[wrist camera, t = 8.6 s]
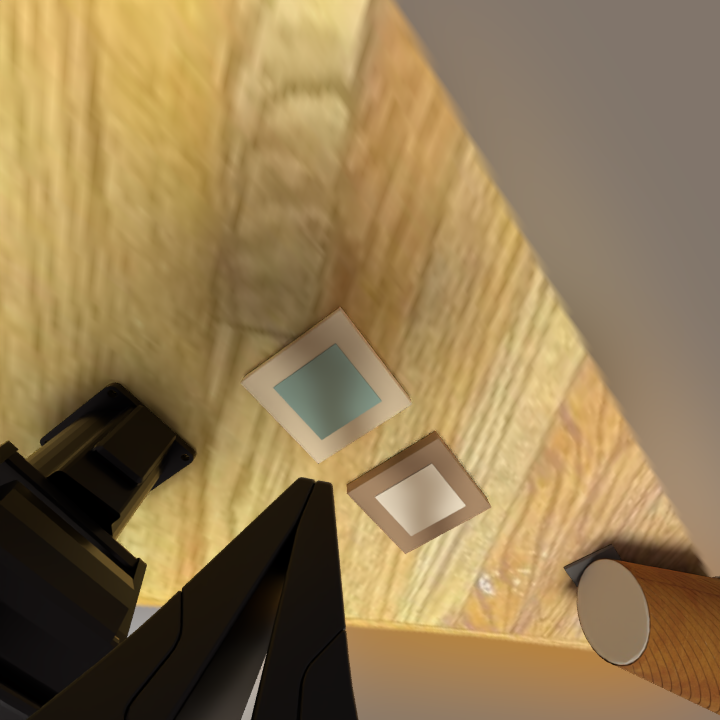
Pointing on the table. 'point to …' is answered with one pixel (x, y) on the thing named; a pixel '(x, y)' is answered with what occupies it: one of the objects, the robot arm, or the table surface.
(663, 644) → the disposable coffee cup
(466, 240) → the table surface
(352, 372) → the birch marker tile
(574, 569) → the black coaster
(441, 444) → the walnut marker tile
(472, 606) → the table surface
